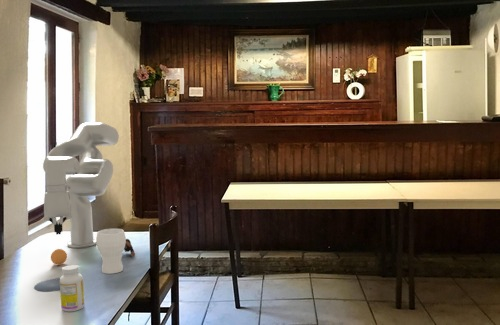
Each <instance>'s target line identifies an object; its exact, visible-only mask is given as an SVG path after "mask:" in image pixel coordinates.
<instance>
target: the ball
mask: <svg viewBox="0 0 500 325" xmlns="http://www.w3.org/2000/svg"><path fill="white" fill-rule="evenodd" d="M67 258H68V253H67V252H66V250H64V249H62V248H57V249H55V250H53V251H52V253H51V254H50V260H51V262H52V263H53V264H54V265H57V266H59V265H60V266H61V265H63V264H64V263H66V261H67Z"/></svg>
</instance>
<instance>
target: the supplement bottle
mask: <svg viewBox="0 0 500 325" xmlns="http://www.w3.org/2000/svg"><path fill="white" fill-rule="evenodd" d="M61 269H62V270H61V271H62V275H61V276H60V290H59V292H60V307H61V310H62V311H64V312H76V311H79V310H81V309H83V308H84V307H85V296H84V294H85V293H84V292H85V291H84V278H83V275H82V274H81V273H79V271H80V269H79V265H76V264H73V265H72V264H71V265H65V266H63V267H62V268H61Z"/></svg>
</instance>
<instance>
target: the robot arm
mask: <svg viewBox="0 0 500 325" xmlns="http://www.w3.org/2000/svg"><path fill="white" fill-rule="evenodd" d="M119 138H120V136H119V131H118V130H117V129H116V128H115V127H114V126H111V125H109V124H107V123H104V122H83V123H81V124H79V125H78V126H77V128H76V129H75V130H74V132H73V134H72V135H71V136H70V138H69V139H68V140H66V141H65V142H62V143H60V144H59V145H56V146H55V147H53V148H52V149H51V150H50V151H49V152H48V154H47V155H46V156H45V159H44V160H43V163H42V164H43V166H42V169H43V171H44V172H45V180H46V192H45V193H44V198H43V214H44V215H43V220H44V221H48V222H50V223H52V224H53V229H54V230H53V231H54V233H55V234H56V235H62V234H61V233H63V224H64V223H65V222H66V221H67V220H69V226H70V228H69V229H70V241H68V242H67V246H68V247H69V248H73V249H79V248H89V247H93V246H95V245H97V244H96V238H94V229H93V227H94V224H93V208H92V203H91V201H90V199H89V198H88V197H100V196H103V195H104V194H105V193H106V191H107V189H108V186H109V184H110V182H111V181H112V180H111V179H112V177H113V174H114V165H113V163H112V161H111V160H110V159H108V158H103V154H102V152H101V150H100V149H98V147H99V146H103V147H104V146H115V145H116V144H117V143H118V142H119ZM97 146H98V147H97ZM81 155H83V156H82V158H81V159H80V161H79V159H78V158H76V157H78V156H81ZM69 175H70V176H69ZM67 176H68V177H67ZM57 218H59V222H58V221H57Z"/></svg>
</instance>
